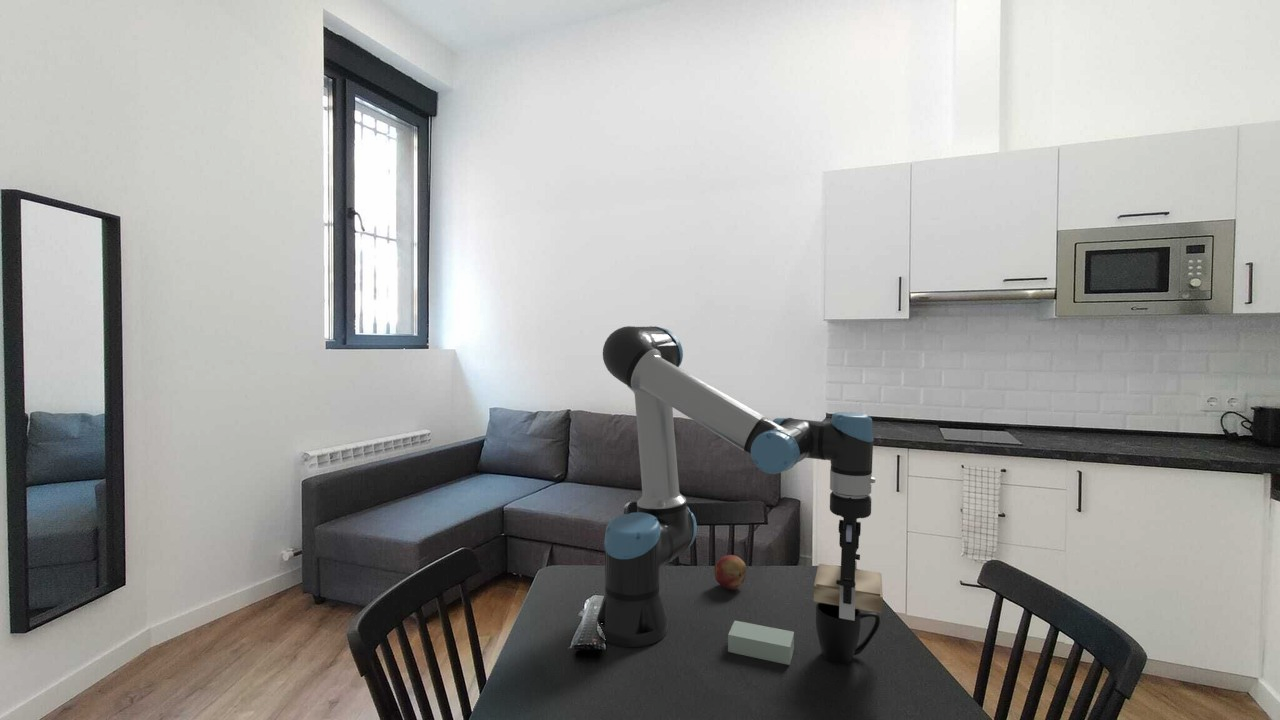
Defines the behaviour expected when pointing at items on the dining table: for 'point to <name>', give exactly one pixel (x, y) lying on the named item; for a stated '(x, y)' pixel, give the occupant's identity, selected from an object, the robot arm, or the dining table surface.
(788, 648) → the sage green box base
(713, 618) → the dining table surface
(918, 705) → the dining table surface
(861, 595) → the lid
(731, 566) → the fruit
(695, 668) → the dining table surface
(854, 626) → the mug
